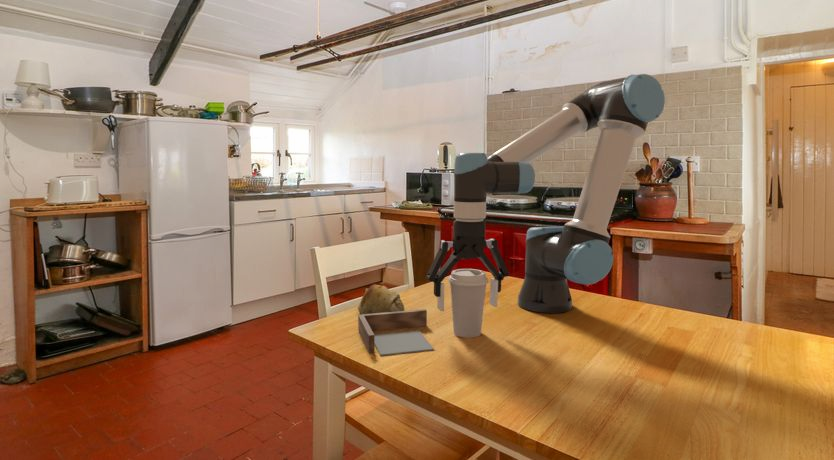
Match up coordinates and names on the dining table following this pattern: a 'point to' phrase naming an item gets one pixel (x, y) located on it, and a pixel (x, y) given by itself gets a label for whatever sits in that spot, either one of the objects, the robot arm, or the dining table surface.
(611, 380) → the dining table surface
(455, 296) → the coffee cup
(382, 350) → the pad
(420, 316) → the walnut corner walls
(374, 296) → the pastry
